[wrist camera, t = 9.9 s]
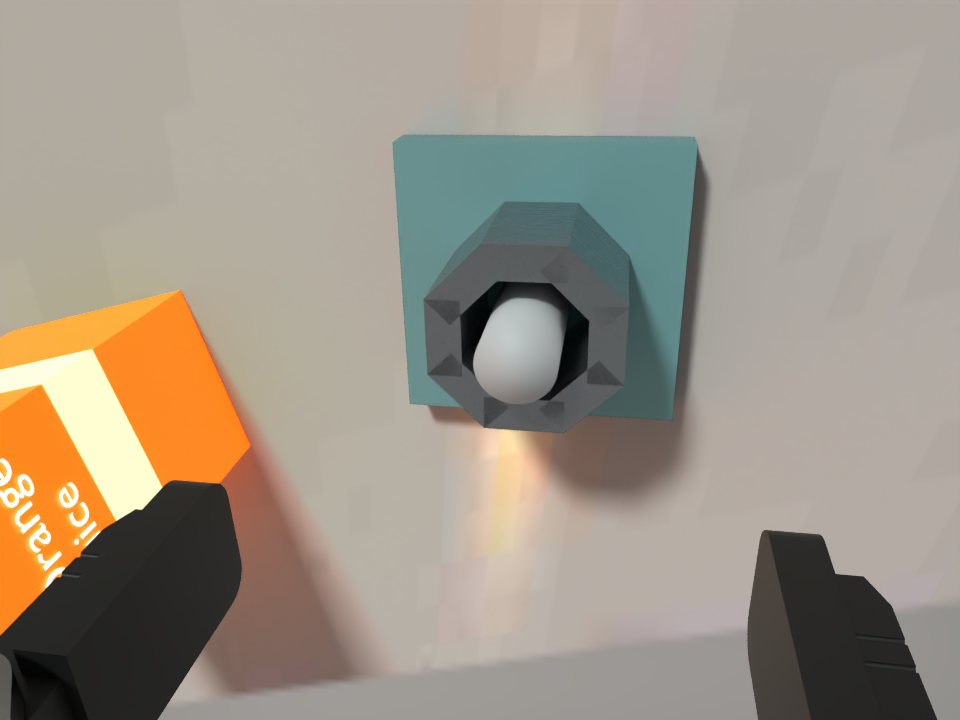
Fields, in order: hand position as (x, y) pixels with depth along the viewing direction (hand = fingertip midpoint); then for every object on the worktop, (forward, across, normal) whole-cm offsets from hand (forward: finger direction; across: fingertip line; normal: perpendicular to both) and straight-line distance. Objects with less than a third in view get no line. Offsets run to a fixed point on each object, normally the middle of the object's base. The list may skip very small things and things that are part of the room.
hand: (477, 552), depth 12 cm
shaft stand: (+18, +1, +2) cm, 19 cm away
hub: (+17, +1, +2) cm, 17 cm away
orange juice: (+18, +19, +8) cm, 28 cm away
